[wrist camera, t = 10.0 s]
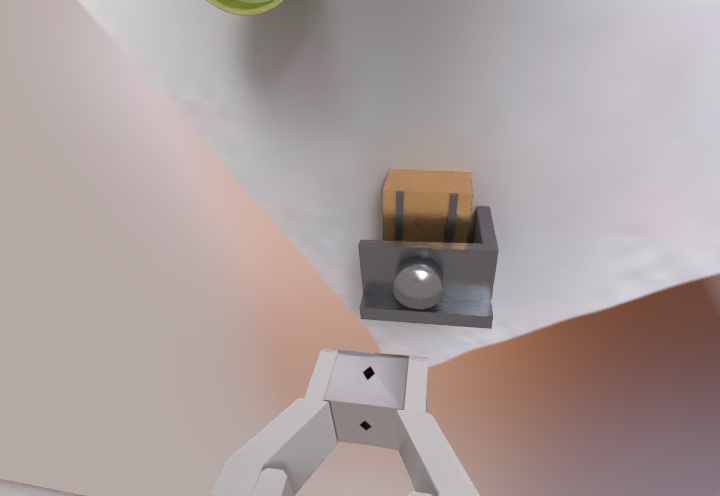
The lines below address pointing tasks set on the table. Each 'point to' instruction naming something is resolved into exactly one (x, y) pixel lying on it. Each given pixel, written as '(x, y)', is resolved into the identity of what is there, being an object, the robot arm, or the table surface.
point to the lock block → (427, 206)
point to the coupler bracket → (431, 279)
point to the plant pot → (246, 6)
